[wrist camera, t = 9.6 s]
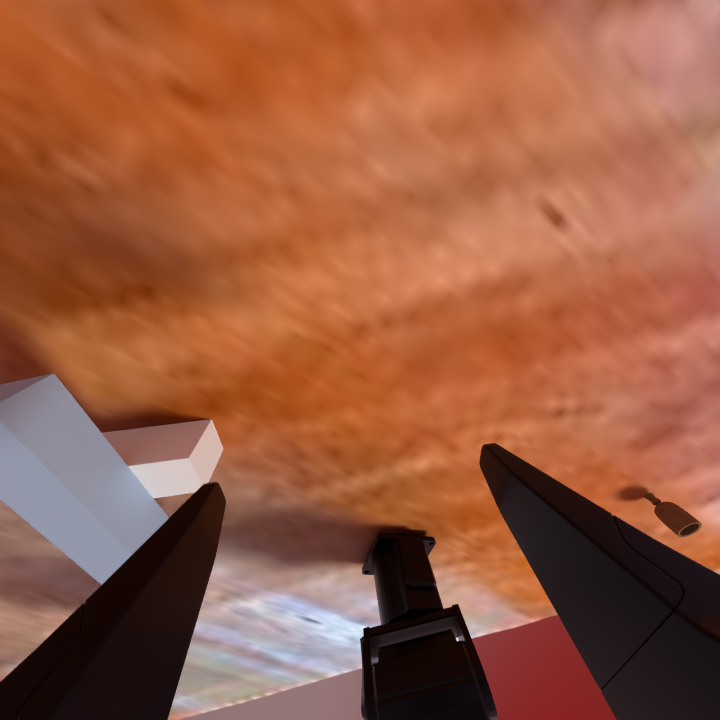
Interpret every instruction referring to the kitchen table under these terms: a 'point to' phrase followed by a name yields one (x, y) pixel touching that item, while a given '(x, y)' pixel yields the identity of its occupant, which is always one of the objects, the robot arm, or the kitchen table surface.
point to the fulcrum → (169, 455)
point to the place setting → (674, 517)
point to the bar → (70, 478)
